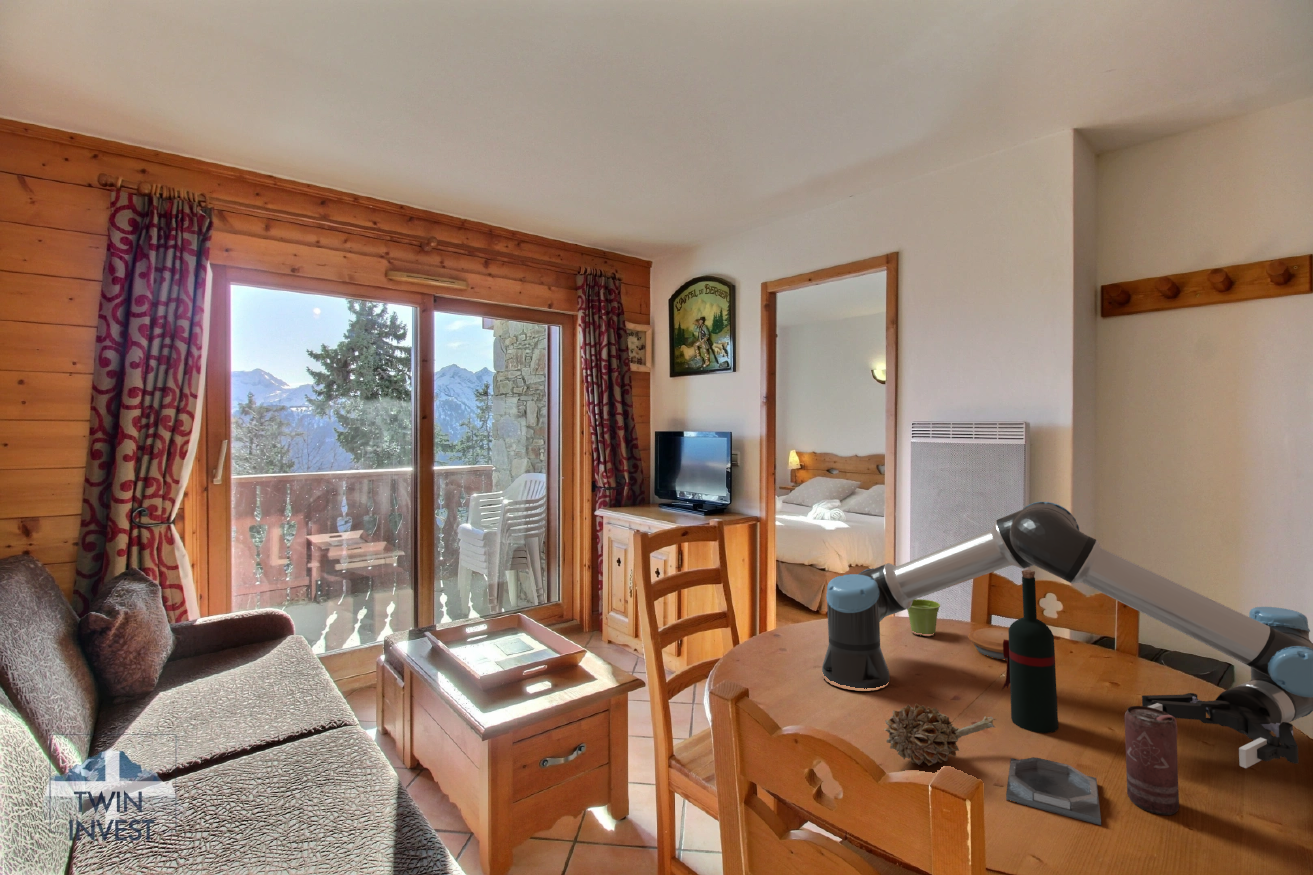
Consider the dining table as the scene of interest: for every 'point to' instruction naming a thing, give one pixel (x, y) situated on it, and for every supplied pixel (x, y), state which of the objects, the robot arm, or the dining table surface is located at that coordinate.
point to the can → (1152, 760)
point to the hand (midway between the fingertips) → (1186, 737)
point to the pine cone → (927, 734)
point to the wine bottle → (1031, 666)
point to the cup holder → (1054, 788)
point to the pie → (990, 641)
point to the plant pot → (923, 616)
